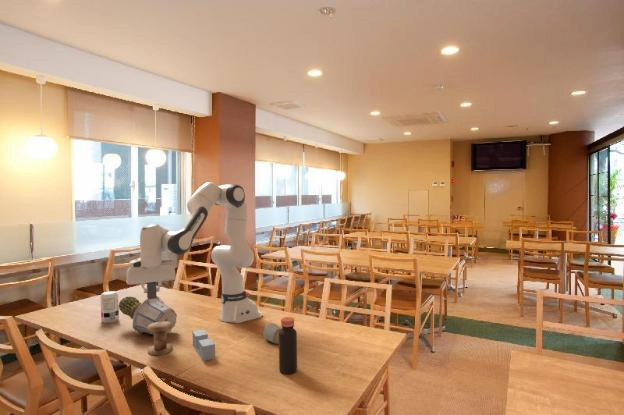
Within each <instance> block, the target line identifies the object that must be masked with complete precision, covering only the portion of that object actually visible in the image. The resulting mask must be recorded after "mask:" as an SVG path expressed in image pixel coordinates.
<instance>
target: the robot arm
mask: <svg viewBox="0 0 624 415" xmlns="http://www.w3.org/2000/svg"><path fill="white" fill-rule="evenodd" d="M245 199H246V194H245V189H244V188H243V186H241V185H240V184H236V183H231V184H230V183H229V184H228V183H227V184H221V185H218V184H217V183H215V182H212V181H207V182H205V183H203V185H201V186H200V187H199V188H198V189H197V190H196V191H195V192H194V193H193V194H192V195H191V197H190V198H189V199H188V201H187V203H186V208H187V211H188V213H189V214H190V215H191V216H190V218H189V220H188V221H187V223H186V224H185V226H184V227H183V228H182V229H181V230H178V231H176V230H175V231H174V230H169V229H168V228H167V229H166V228H165V227H162V226H161V225H160V224H158V223H155V224H154V223H153V224H147V225H145V226H143V227H142V228H141V230H140V234H139V235H140V236H139V246H140V254H139V257H137V258H136V259H131V260H130V261H129V262H128V266H129V267H128V268H127V271H126V280H125V281H126V284H127V285H128V286H129V285H138V284H139V285H140V286H141V288H142V289H143V294H147V293H148V289H147V287H145V285H146V284H147V283H150V282H156V283H157V282H158V285H157V286H156V293H158V292H160V288H161V287H162V284H163V282H168V281H174V280H175V279H176V267H177V263H176V261H175V260H173V259H162V258H163V254H162V252H168V253H172V254H175V255H178V256H181V255H182V256H183V255H185V254H187V253H188V251H190V249H191V247H192V245H193V241H194V240H195V238H196V236H197V234H198V233H199V231H200V229H201V228H202V227H203V225H204V223H205V221H206V220H207V217H208V215H209V212H210V211H211V209H212V208H213V207H214V205H215V206H225V207H226V208H225V209H226V214H225V215H226V216H225V224H224V235H225V236H226V237H227V238H228V240H229V244H230V245H228V244H221V245H216V246H214V248H212V250H211V253H210V256H211V258H210V259H211V260H212V262H213V263H214V264H215V266H216V267H217V269H218V270H219V274H220V277H221V285H222V286H221V287H222V292H221V303H222V304H221V312H220V316H219V320H220V321H222V322H224V323H235V324H240V323H243V322H248V321H253V320H256V319H258V318H262V317H263V312H261V311H260V310H259V308H258V305H257V303H256V302H255V301H253V300H252V299H250V298H249V297H250V295H251V293H250V292H249V291H248V292H247V291H246V290H245V289H244V276H243V275H242V274H241V273H240V272H239V271H238V268H248V267H251V265H252V264H253V262H254V260H255V255H254V251H253V250H252V249H251V248H250V246H249V244H248V241H247V236H246V235H247V234H246V233H247V221H248V207H247V203H246V202H245Z"/></svg>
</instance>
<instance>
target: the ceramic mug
mask: <svg viewBox="0 0 624 415" xmlns="http://www.w3.org/2000/svg"><path fill="white" fill-rule="evenodd" d="M281 329H282V326H281V327H280V326H279V325H278V324H275V323H273V322H270V323H267V324H266V325H265V326H264V328H263V331H262V334H263V335H262V336H263V338H264V339H265V340H267V341H269V342H271V343H273V344H276V345H279V332H280V330H281Z"/></svg>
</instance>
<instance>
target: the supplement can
mask: <svg viewBox="0 0 624 415" xmlns="http://www.w3.org/2000/svg"><path fill="white" fill-rule="evenodd" d="M119 312H120V309H119V293H118V292H117V291H116V290H109V291H104V292H102V293H101V295H100V318H101V322H102V323H103V324H111V323H115V322H117V321H118V320H119V318H120V313H119Z"/></svg>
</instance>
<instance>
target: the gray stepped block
mask: <svg viewBox="0 0 624 415" xmlns="http://www.w3.org/2000/svg"><path fill="white" fill-rule="evenodd" d="M192 346H193V348H195V350H196V352H197V354H198V356H199V357H200V359H201V360H202V362H206V361H210V360H215V359H216V344H215V342H214V341H213V339H212V338H211V337H210V338H209V334H208V333H207V331H206V330H205V329H204V328H203V329H198V330H193V331H192Z"/></svg>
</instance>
